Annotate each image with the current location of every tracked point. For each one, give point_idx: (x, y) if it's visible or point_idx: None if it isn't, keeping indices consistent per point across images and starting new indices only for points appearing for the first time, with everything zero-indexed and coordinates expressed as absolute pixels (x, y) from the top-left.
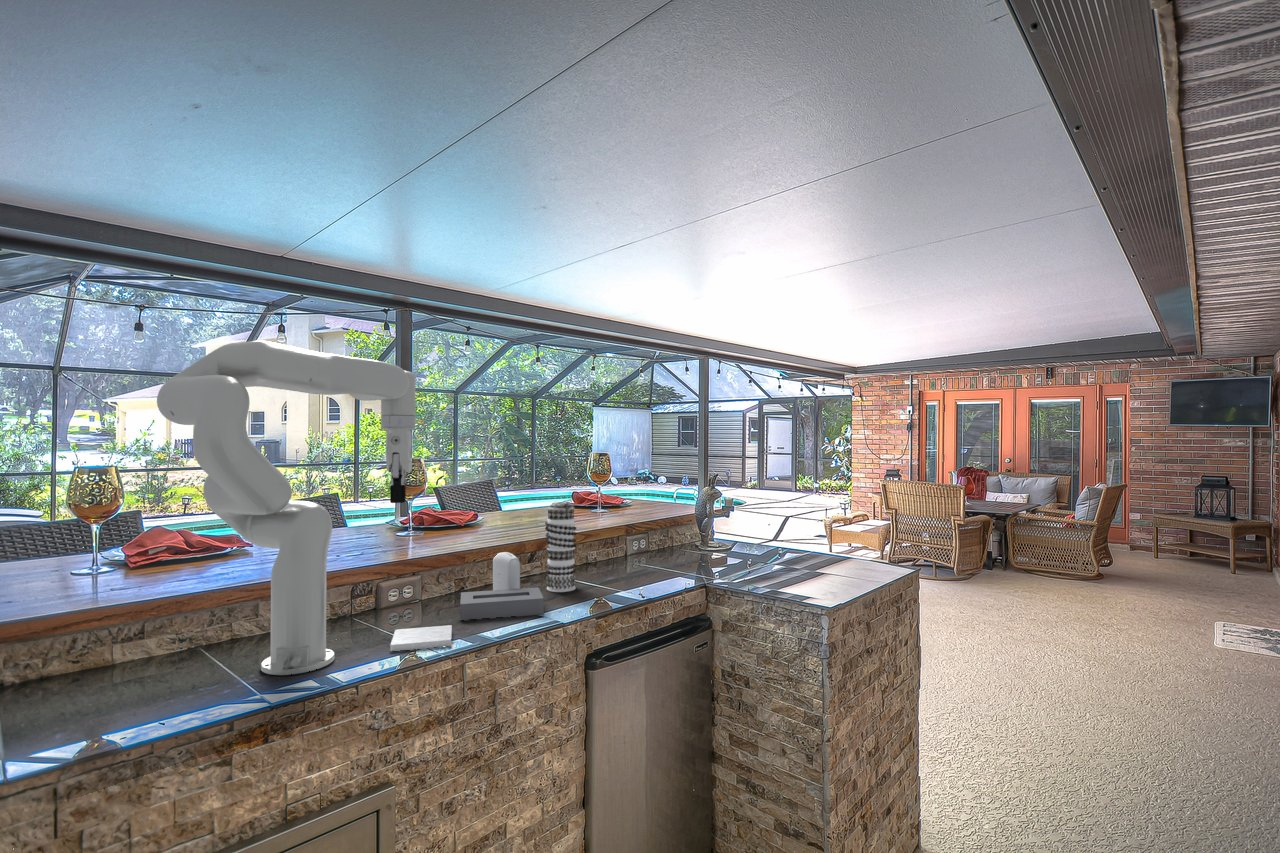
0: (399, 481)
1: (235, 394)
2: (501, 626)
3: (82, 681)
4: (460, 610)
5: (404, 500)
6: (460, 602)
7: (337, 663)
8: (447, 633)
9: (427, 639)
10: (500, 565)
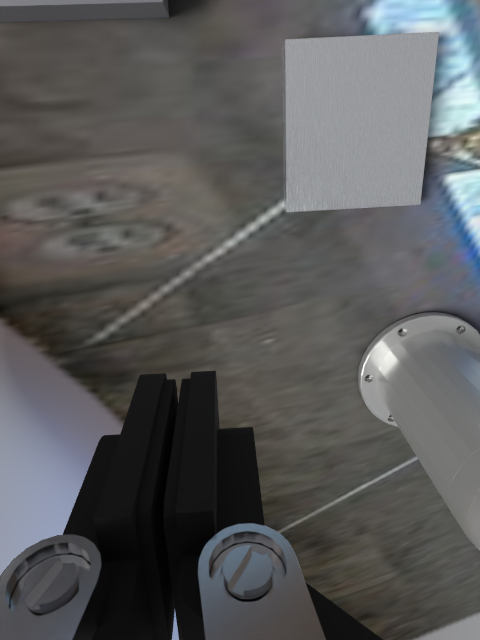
0: (360, 635)
1: None
2: None
3: (375, 608)
4: (165, 7)
5: (215, 379)
6: (138, 2)
7: (444, 301)
8: (372, 48)
9: (409, 108)
10: None
